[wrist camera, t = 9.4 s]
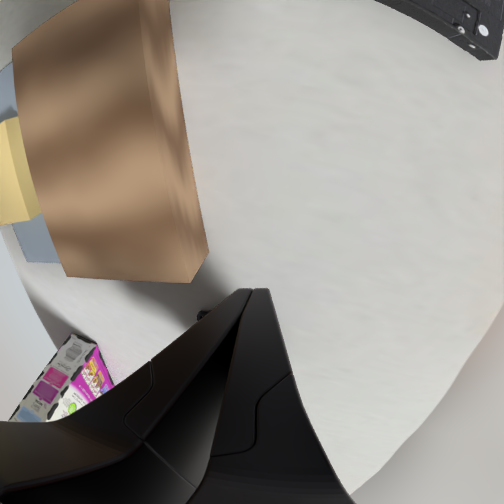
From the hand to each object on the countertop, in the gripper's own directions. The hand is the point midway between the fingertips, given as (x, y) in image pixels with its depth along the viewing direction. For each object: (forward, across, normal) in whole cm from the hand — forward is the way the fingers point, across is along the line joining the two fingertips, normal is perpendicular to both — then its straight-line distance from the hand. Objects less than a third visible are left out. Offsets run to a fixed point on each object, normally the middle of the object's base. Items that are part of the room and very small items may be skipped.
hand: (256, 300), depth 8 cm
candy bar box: (+12, +29, +22) cm, 39 cm away
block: (+10, +27, -6) cm, 29 cm away
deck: (+12, +12, -5) cm, 18 cm away
